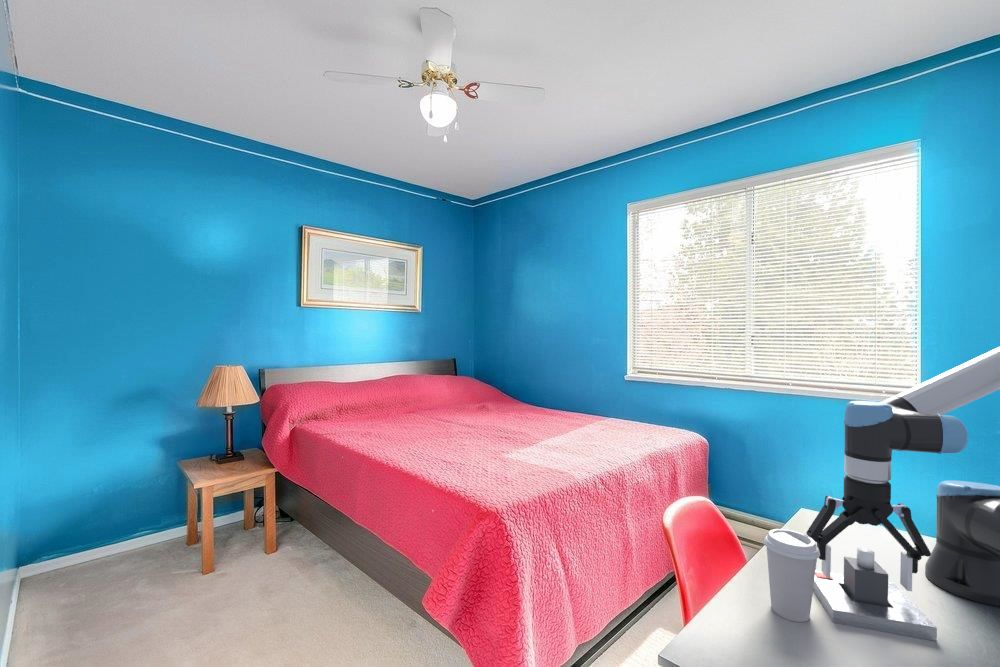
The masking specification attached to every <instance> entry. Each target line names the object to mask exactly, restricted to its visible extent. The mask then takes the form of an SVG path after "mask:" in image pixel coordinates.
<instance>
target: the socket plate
mask: <svg viewBox="0 0 1000 667" xmlns="http://www.w3.org/2000/svg"><path fill="white" fill-rule="evenodd" d="M843 589H844V573H836V572H831V576H830V578H826V577H825V576H824V574H823V573H822V570H817V569H816V570H815V578H814V586H813V592H814V594H815V595H816V597H817V599H818V600H819V602H820V603H821V605H822V607H823V609H824V611H825V612H826V613H827V616H829V618H830V620H831V621H832V623H834V624H835V623H836V624H841V625H846V626H851V627H855V628H856V627H857V628H863V629H867V630H872V631H873V630H874V631H879V632H883V633H888V634H889V633H890V634H894V635H895V634H896V635H901V636H906V637H912V638H917V639H922V640H927V641H933V642H938V636H937V635H938V627H937V626H936V625H935V624H934V623H933V622H932V621H931V620H930V619H929V618H928V617H927V616H926V614H924V613H923V611H921V609H919V607H918V606H916V605H915V603H914V602H913V601H912V600H911V599H910V598H909V597H908V596H907V594H905V593H904V592H903V591H902V590H901V589H900V587H899V586H897V584H896V583H895V582H893V581H890V580H888V607H883V606H877V605H872V604H866V603H860V602H854V601H851V600H850V598H849V597H848V596H847V594H846V593H845V592H844V590H843Z"/></svg>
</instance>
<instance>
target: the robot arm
mask: <svg viewBox="0 0 1000 667" xmlns="http://www.w3.org/2000/svg"><path fill="white" fill-rule="evenodd" d="M999 390H1000V346H998V347H996V348H993V349H992V350H989V351H988V352H986V353H983V354H980V355H979V356H976V357H974V358H972V359H970V360H968V361H966V362H964V363H962V364H960V365H957V366H955V367H953V368H951V369H949V370H946V371H944V372H942V373H940V374H938V375H936V376H934V377H932V378H930V379H928V380H925V381H923V382H921V383H919V384H917V385H915V386H913V387H910V388H907V389H906V390H904V391H902V392H899V393H898V394H896V395H895V394H894V395H893V396H891V397H888V398H886V399H884V400H882V401H878V400H877V401H875V400H873V401H871V400H870V401H869V400H851V401H849V402H847V404H846V406H845V411H844V419H843V420H844V421H843V424H844V460H843V461H844V462H843V463H844V464H843V467H844V469H843V472H844V473H845V475H844V476H843V497H842V498H841V499H839V498H836V497H832V496H831V495H829V494H827V495H825V498H824V503H823V506H822V507H821V509H820V510H819V512H818V514H817V515H816V517H815V518H814V520H813V521H812V523H811V524H810V526H809V527H808V529H807V531H806V533H805V535H807V536H809V537H811V538H812V539H813V540H814V541H815V543H816V546H817V547H818V549H819V551H820V557H819V558H818V559H819V560H821V571H822V573H823V574H824V576H825V577H826V578H830V576H831V568H832V567H831V566H832V563H831V562H832V547H831V546H830V544H829V543H830V542H831V541H832V540H834V538H836V537H837V536H838V535H840V534H841V533H842V532H844V530H845V529H846V528H848V527H849V526H852V525H853V524H855V523H858V524H859V525H870V526H875V527H878V526H879V525H882V526H883V528H885V529H886V531H887V532H888V533H889V534H890V535H891V537H893V538H894V539H895V540H896V542H897V543H898V544H899V545H900V546H901V547H902V549H903V550H905V551H900V575H899V576H900V577H899V578H900V579H899V583H900V585H901V586H902V587H903V588H904V589H905V590H906V591H907V592H913V574H918V570H919V569H918V568H919V561H921V560H922V557H928V558H927V561H926V562H925V567H924V575H925V577H926V578H927V579H928V581H930V583H932V584H934V585H936V586H937V587H939V588H940V589H943V590H945V591H947V592H949V593H951V594H953V595H955V596H959V597H961V598H965V599H967V600H971V601H973V602H976V603H980V604H985V605H990V606H994V607H995V606H996V607H1000V485H995V484H989V483H983V482H975V481H967V480H966V481H965V480H964V481H963V480H943V481H940V482H939V483H938V485H937V488H936V489H937V490H936V495H935V498H936V525H935V526H936V528H935V529H936V532H935V533H936V537H935V538H936V540H935V541H936V542H935V545H934V546H933V549H932V551H930V549H929V548H928V545H927V544H926V542H925V540H924V539H923V536H922V535H921V533H920V531H919V529H918V528H917V526H916V524H915V522H914V520H913V519H912V517H913V516H912V510H911V509H910V508H909V507H908V506H907V505H905V504H904V503H902V502H899V503H897V504H891V501H892V500H891V499H892V498H891V496H892V483H890V481H891V480H892V455H893V454H892V453H893V451H898V452H901V451H903V452H913V453H914V452H916V453H931V454H938V455H941V454H958V453H960V452H962V451H963V450H964V449H965V448H966V447H967V445H968V434H969V433H968V430H967V427H966V426H965V424H964V423H963V422H962V420H961V419H959V418H958V417H956V416H954V415H948V414H947V413H949V412H952V411H954V410H956V409H958V408H960V407H964V406H966V405H967V404H969V403H972V402H974V401H976V400H979V399H981V398H983V397H985V396H987V395H990V394H992V393H994V392H997V391H999ZM840 507H843V509H844V510H843V511H842V512H840V514H839V516H838V517H837V518H835V520H833V521H832V522H831V523H830V524H829V525H828V526H827V524H828V523H829V521H830V520H831V518H832V516H833V515H834V513H835V512H836V510H838V509H839V508H840ZM893 512H894V514H895V515H896V516H897V517H899V520H900V521H901V523H902V525H903V527H904V528H905V530H906V532H907V534H908V536H909V537H910V540H911V541H912V543H913V544H914V546H912V545H911V543H909V541H908V540H907V539H906V537H904V535H902V533H900V531H898V529H897V528H896V527H895V526H894V525H893V523H892V522H891V521H890V520H889V519H888V518H889V517H890V516H891V515H892V514H893Z"/></svg>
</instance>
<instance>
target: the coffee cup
mask: <svg viewBox="0 0 1000 667" xmlns="http://www.w3.org/2000/svg"><path fill="white" fill-rule="evenodd" d="M763 545H764V546H765V547H766V556H767V568H768V579H769V580H768V581H769V583H768V584H769V593H770V594H769V595H770V607H771V610H772V611H773V613H775V614H776V615H777V616H779V617H781V618H783V619H785V620H789V621H791V622H796V623H804V622H808V621H809V620H810V618H811V610H812V609H811V608H812V601H813V594H814V593H813V592H814V591H813V586H814V578H815V570H817V568H816V567H817V560H818V559H819V557H820V551H819V549H818V547H817V542H815V541H814V540H813V539H812V538H811V537H809V536H808V535H807V534H806V533H802V532H799V531H796V530H792V529H786V528H774V529H770V530H769V531H768V533H767V535H766V536H765V537H764V540H763Z"/></svg>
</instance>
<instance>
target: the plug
mask: <svg viewBox="0 0 1000 667" xmlns="http://www.w3.org/2000/svg"><path fill="white" fill-rule="evenodd" d="M843 574H844V589H843V590H844V592H845V593H846V594H847V596H848V597H849V598H850V600H851V601H854V602H860V603H866V604H872V605H877V606H883V607H888V581H889V574H888V573H887V571H886V570H885V569H884V568H883V567H882V566H881V565H880V564H879V563H878V562H877V561H876V560H875V551H874V550H872V549H870V548H866V547H861V546H860V547H857V548H856V557H849V556H844V557H843Z"/></svg>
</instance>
